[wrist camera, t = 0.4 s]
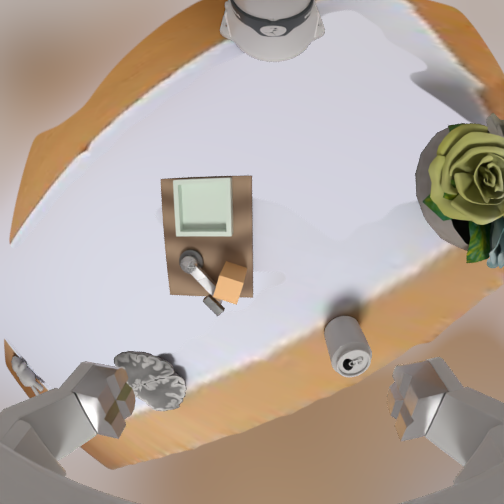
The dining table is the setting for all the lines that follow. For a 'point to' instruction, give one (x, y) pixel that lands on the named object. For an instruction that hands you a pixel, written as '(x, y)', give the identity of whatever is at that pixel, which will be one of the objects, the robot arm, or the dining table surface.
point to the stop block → (230, 282)
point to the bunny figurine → (25, 374)
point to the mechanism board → (209, 241)
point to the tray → (203, 207)
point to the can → (347, 346)
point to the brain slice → (152, 379)
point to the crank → (203, 282)
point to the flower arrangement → (466, 188)
